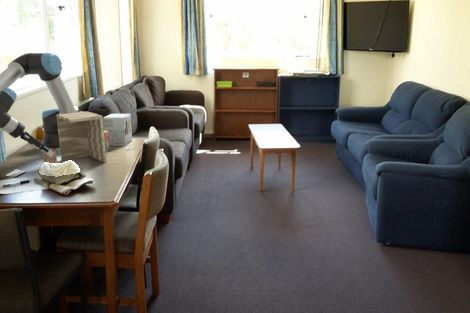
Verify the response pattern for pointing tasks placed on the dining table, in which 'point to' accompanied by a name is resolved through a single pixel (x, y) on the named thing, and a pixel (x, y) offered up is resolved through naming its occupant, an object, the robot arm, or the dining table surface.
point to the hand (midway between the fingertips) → (48, 152)
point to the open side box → (81, 135)
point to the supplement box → (118, 129)
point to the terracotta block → (50, 159)
